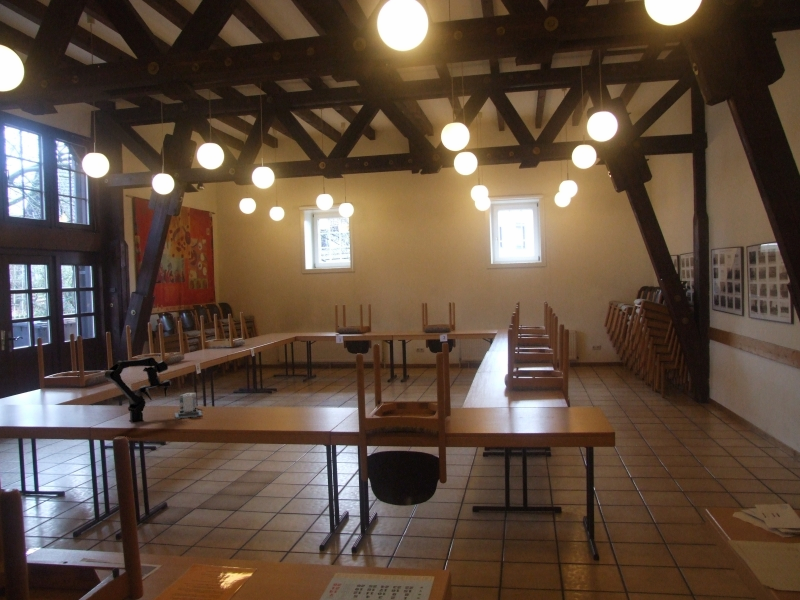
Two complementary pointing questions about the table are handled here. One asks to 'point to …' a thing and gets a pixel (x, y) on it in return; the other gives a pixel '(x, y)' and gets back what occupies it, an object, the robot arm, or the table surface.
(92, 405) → the table surface
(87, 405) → the table surface
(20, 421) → the table surface
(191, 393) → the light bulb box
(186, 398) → the block
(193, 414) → the dock
